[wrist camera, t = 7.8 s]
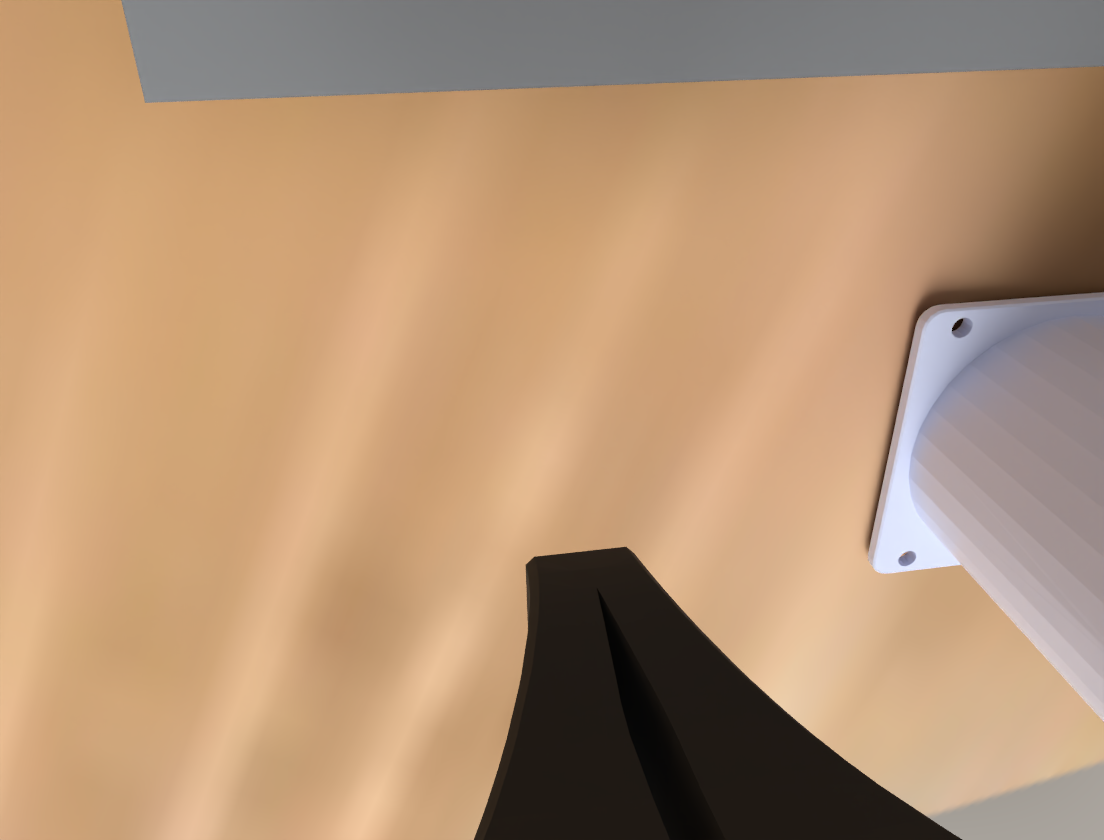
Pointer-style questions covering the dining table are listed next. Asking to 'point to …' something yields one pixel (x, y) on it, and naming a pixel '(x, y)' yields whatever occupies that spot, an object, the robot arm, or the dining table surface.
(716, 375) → the dining table surface
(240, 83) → the console
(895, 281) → the dining table surface
